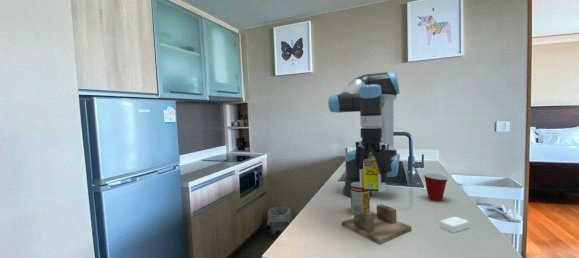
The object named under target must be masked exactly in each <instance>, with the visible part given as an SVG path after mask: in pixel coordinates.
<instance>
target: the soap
mask: <svg viewBox="0 0 579 258" xmlns="http://www.w3.org/2000/svg"><path fill="white" fill-rule="evenodd" d="M439 228H440V229H443V230H444V231H448V232H449V233H452V234H455V233H458V232H461V231H465V230H468V229H469V228H470V222H469V221H468V220H467V219H464V218H462V217H458V216H453V217H448V218H445V219H442V220H440V221H439Z"/></svg>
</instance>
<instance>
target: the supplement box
mask: <svg viewBox="0 0 579 258" xmlns="http://www.w3.org/2000/svg"><path fill="white" fill-rule="evenodd" d="M378 173H380V171H379V168H378V165H377V162H376V160H375V159H364V160H363V184H364V190H365V191H372V192H379V190H378Z"/></svg>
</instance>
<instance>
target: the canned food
mask: <svg viewBox="0 0 579 258" xmlns="http://www.w3.org/2000/svg"><path fill="white" fill-rule="evenodd" d="M370 197H371V196H370ZM370 197H369V191H365V190H364V186H360V182H354V183H351V197H350V211H351V213H353V214H354V212H358V211H360V212H362V213H365V214H366V213H369V212H371V207H370V206H371V203H370V202H371V201H370V199H371V198H370Z"/></svg>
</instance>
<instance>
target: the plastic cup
mask: <svg viewBox="0 0 579 258" xmlns="http://www.w3.org/2000/svg"><path fill="white" fill-rule="evenodd" d="M423 177H424V182H425V186H426V191H427V197H428V199H429V200H430V201H434V202H442V201H443V200H444V199H443V198H444V194H445V190H446V185H447V182H448V180H449V179H450V178H449V176H448V175H444V174H440V173H436V172H435V173H433V172H425V173H423Z"/></svg>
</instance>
